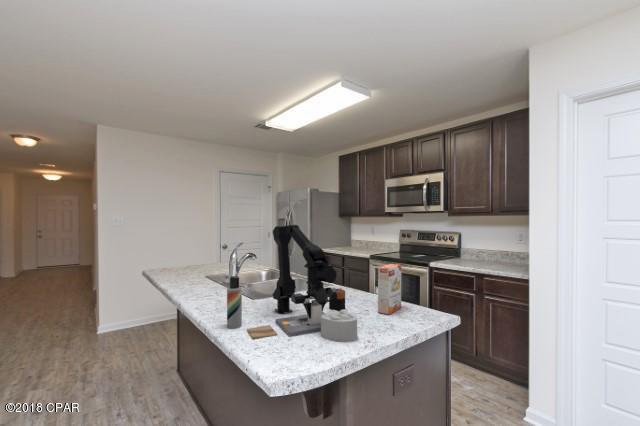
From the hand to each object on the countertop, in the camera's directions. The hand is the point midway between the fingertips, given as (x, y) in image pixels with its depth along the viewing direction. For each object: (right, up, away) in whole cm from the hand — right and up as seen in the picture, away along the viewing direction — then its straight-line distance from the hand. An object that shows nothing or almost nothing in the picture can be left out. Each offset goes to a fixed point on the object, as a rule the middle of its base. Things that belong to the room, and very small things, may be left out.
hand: (314, 317), depth 126 cm
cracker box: (+35, -3, +18) cm, 39 cm away
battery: (+10, -3, +20) cm, 23 cm away
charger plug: (0, -3, 0) cm, 3 cm away
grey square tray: (-3, -3, -1) cm, 4 cm away
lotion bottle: (-32, -3, -2) cm, 32 cm away
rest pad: (-20, -2, -9) cm, 22 cm away
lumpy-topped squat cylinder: (+10, -3, -13) cm, 16 cm away
